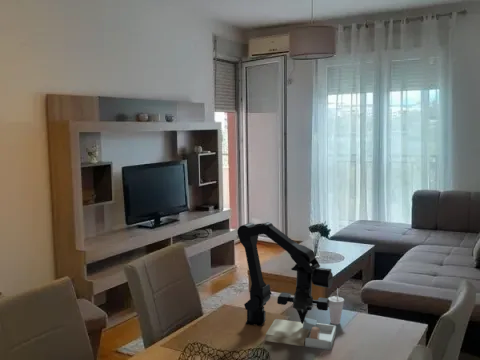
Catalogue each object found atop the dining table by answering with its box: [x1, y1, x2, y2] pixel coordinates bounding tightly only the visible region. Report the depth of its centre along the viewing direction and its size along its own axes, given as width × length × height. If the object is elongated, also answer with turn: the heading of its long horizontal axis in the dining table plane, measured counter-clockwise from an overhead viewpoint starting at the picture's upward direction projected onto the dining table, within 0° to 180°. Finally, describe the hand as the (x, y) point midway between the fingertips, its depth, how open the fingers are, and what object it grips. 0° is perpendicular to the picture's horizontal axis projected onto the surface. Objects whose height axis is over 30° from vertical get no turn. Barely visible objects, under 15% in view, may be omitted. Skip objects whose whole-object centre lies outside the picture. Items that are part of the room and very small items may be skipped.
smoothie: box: [327, 287, 345, 325], centre depth 196 cm, size 6×6×14 cm
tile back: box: [303, 317, 318, 330], centre depth 186 cm, size 4×4×2 cm
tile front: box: [310, 327, 320, 339], centre depth 178 cm, size 4×4×2 cm
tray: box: [304, 322, 337, 351], centre depth 181 cm, size 9×15×3 cm, turn 162°
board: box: [264, 318, 311, 347], centre depth 185 cm, size 14×15×2 cm
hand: (302, 323), depth 187 cm, fingers closed
